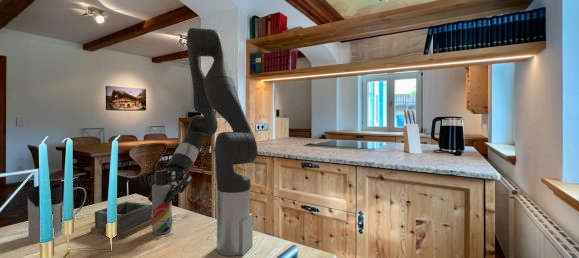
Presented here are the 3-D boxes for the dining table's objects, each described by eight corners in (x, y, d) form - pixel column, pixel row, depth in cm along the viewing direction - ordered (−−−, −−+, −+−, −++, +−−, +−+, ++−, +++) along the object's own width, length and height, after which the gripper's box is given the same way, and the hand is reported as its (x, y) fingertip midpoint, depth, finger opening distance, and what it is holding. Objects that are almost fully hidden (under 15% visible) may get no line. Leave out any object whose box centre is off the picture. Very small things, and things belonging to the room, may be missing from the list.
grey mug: (28, 234, 82) (26, 186, 81) (86, 223, 91) (85, 179, 90) (24, 245, 75) (23, 193, 75) (87, 231, 84) (86, 185, 84)
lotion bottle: (164, 235, 83) (163, 172, 82) (148, 234, 84) (147, 171, 83) (175, 228, 88) (175, 168, 87) (160, 226, 89) (159, 167, 88)
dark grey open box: (155, 222, 92) (155, 204, 92) (122, 239, 80) (121, 217, 80) (127, 217, 96) (126, 200, 96) (90, 232, 84) (90, 212, 84)
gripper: (161, 150, 94) (132, 193, 83) (196, 153, 90) (170, 198, 79) (172, 163, 99) (146, 204, 88) (205, 166, 95) (182, 210, 84)
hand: (158, 201), depth 84 cm, fingers closed on lotion bottle, 5 cm apart
